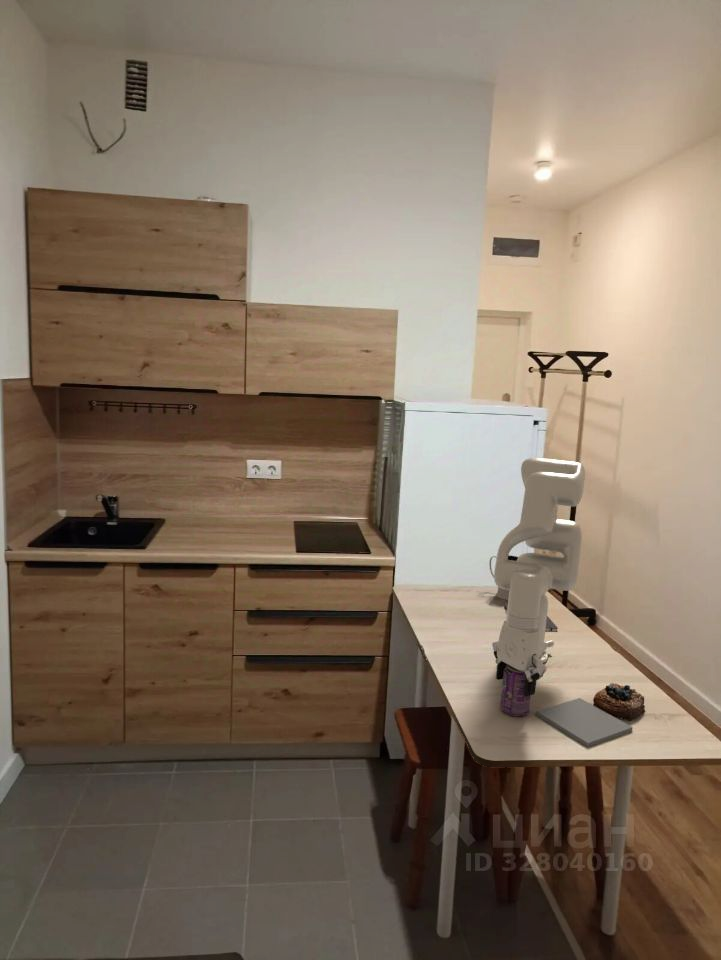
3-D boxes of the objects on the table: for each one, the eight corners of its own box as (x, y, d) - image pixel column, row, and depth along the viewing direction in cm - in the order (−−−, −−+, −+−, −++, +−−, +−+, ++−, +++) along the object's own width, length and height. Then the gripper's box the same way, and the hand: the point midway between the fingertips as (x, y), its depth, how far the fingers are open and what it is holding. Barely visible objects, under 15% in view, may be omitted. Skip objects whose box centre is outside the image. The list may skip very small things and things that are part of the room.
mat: (579, 701, 177) (579, 697, 176) (632, 731, 163) (632, 727, 163) (535, 714, 168) (536, 711, 168) (587, 747, 155) (588, 743, 155)
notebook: (504, 608, 245) (520, 631, 224) (504, 604, 245) (521, 626, 224) (538, 610, 246) (558, 633, 225) (538, 606, 246) (558, 628, 225)
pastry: (649, 710, 175) (652, 688, 174) (629, 725, 166) (632, 703, 165) (608, 694, 182) (610, 673, 181) (587, 708, 174) (590, 686, 173)
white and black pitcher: (510, 601, 251) (514, 562, 249) (480, 590, 262) (483, 553, 259) (524, 597, 257) (528, 559, 255) (494, 587, 268) (497, 550, 265)
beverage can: (508, 701, 174) (512, 657, 172) (533, 711, 170) (538, 666, 168) (494, 711, 169) (499, 665, 167) (520, 721, 164) (526, 675, 162)
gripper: (486, 611, 170) (479, 675, 173) (537, 635, 156) (529, 705, 158) (508, 607, 174) (501, 670, 177) (560, 630, 160) (552, 699, 162)
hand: (514, 686), depth 168 cm, fingers open, 9 cm apart
